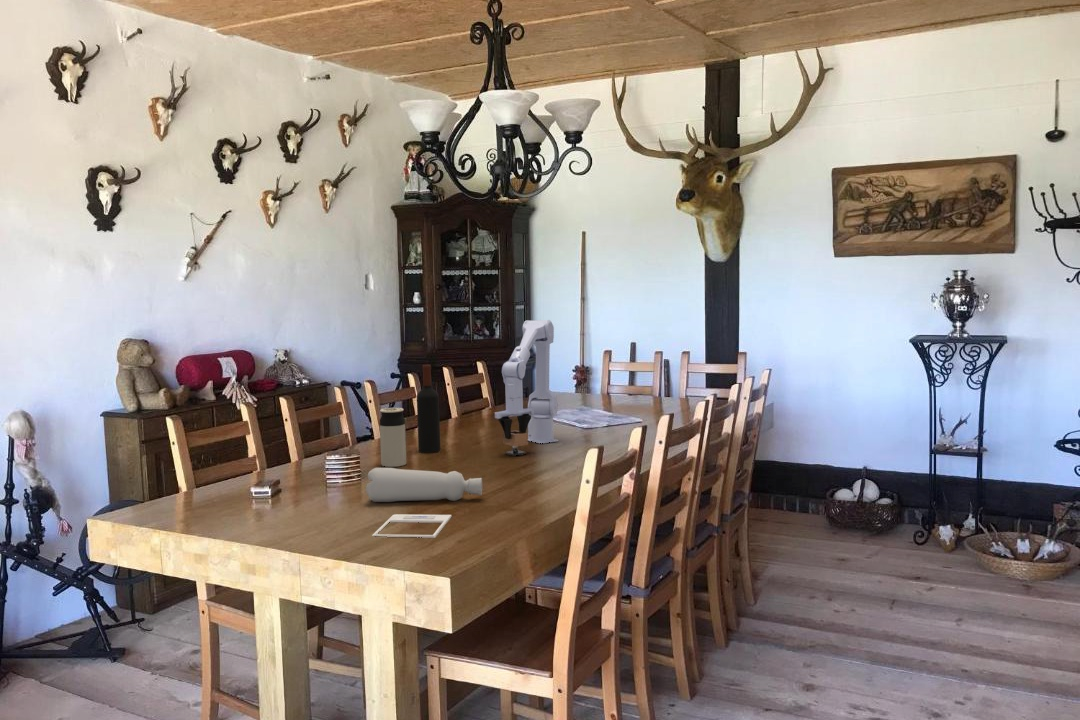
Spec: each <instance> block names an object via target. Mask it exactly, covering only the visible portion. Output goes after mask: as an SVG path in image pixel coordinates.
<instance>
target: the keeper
mask: <svg viewBox="0 0 1080 720" xmlns="http://www.w3.org/2000/svg"><path fill="white" fill-rule="evenodd" d="M506 454H507V455H506ZM522 454H526V455H527V452H526V451H523V450H519V446H516V447H514V446H512V450H509V451H505V455H506V456H510V455H512V456H511V457H517V456H516V455H519V456H523V455H522Z"/></svg>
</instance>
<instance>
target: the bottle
mask: <svg viewBox="0 0 1080 720" xmlns="http://www.w3.org/2000/svg"><path fill="white" fill-rule="evenodd" d="M367 479H368V480H369V481H370V482H368V483H367V484H366V488H365V490H366V495H367V496H368V499H369V500H371V501H372V502H374V503H393V502H412V501H439V500H442V499H447V500H449V501H452V502H456V501H458V500H460V499H462V497H463V495H464V493H467V494H468V495H477V496H482V493H483V477H474V478H472V477H469V479H467V480H465V478H464V476H463V474H462V473H461V472H458V471H456V470H453V471H452V470H451V471H449V472H448V473H447V472H441V471H435V470H434V471H432V470H417V469H400V468H396V467H374V468H372V469H371V470H370V471H368V473H367Z"/></svg>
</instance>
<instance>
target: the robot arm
mask: <svg viewBox="0 0 1080 720" xmlns="http://www.w3.org/2000/svg"><path fill="white" fill-rule="evenodd" d="M554 330H555V327H554V325H553V322H552V321H551V320H550V319H548V320H529V319H527V320H525V321H524V322H523V324H522V335H523V336H522V338H521V341H520V344H519V345H517V346H516V347H515V348H514V350H513V351H512V353H511V356H510V357H509V359H508V360H507V361H505V362H504V363H503V364H502V367H501V374H502V375H501V376H502V378H503V383H504V385H505V388H504V389H505V410H501V411H494V419H496V420H498V422H499V424H500V426H501V427H502V430H503V431H502V432H504V434H505V438H506V439H510V438H511V431H512V423H513V419H512V417H517V418H516V419H517V421H518V431H521V432H526V433H528V442H531V441H532V442H531V443H535V442H536V444H540V443H541V444H542V443H543V444H547V443H549V442H550V443H554V442H559V439H556V438H554V417H555V416H556V415H557V414H558V409H559V405H558V399H557V398H558V397H557V395H556V394H555V393H554V392H553V391H552V390H550V352H551V351H550V350H551V349H550V347H551V344H552V343H554V338H555V337H554V336H555V333H554V332H555V331H554ZM533 345H534V346H535V390H534V391H533V392H532V393H530V394H529V395H528V402H527V408H524V400H523V399H524V398H523V397H524V395H523V394H524V393H523V389H524V388H523V379H524V377H525V375H526V368H527V366H526V365H527V363H528V361H529V359H530V356H531V352H530V350H531V348H532V347H533ZM541 444H540V445H541Z"/></svg>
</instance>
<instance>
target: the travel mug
mask: <svg viewBox="0 0 1080 720" xmlns="http://www.w3.org/2000/svg"><path fill="white" fill-rule="evenodd" d="M379 412H380V414H381V416H380V418H379V437H380V440H379V442H380V460H381V461H380V462H381V463H380V465H381V466H382V467H384V466H385V467H384V468H398V467H403V466H405V465H406V464H407V444H406V443H407V442H406V440H407V439H406V419H405V417H404V415H403V414H404V408H403V407H387V408H381V409H380V410H379Z"/></svg>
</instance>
